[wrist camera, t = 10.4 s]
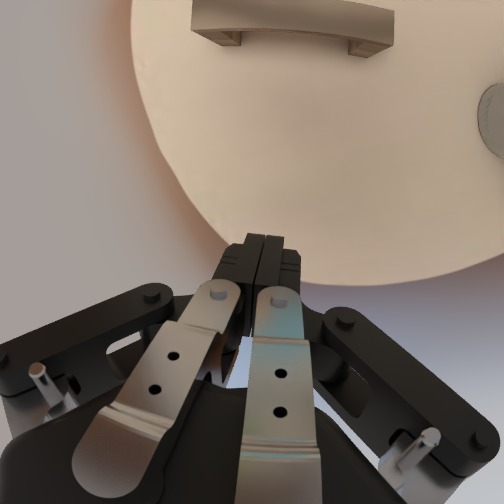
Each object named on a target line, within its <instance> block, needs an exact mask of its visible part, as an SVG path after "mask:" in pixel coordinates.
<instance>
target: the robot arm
mask: <svg viewBox="0 0 504 504" xmlns="http://www.w3.org/2000/svg"><path fill="white" fill-rule="evenodd" d="M478 122H479V129H480V132H481V135H482V138H483V140H484V142H485V144H486V145H487V147H488V148H489V149H490V150H491V151H492V152H493V153H494V154H496V155H497V156H499V157H501V158H503V159H504V84H496V85H494V86H492V87H490V88H489V89H488V90H487V91H486V92H485V93H484V95H483V96H482V99H481V101H480V105H479V110H478ZM283 245H284V237H281V236H272V235H267V236H266V240H265V235H262V234H253V233H247V236H246V238H245V241H244V244H235V243H233V244H232V245H230V246H229V247H227V248H226V249H225V251H224V253H223V256H222V258H221V260H220V263H219V264H218V266H217V269H216V271H215V273H214V275H213V277H212V280H209V281H207V282H204V283H203V284H202V285H200V287H199V288H198V290H197V291H196V293H195V294H193V295H186V296H173V291H172V289H171V288H170V287H168V286H167V285H165V284H161V283H149V284H145V285H142V286H139V287H137V288H135V289H132V290H130V291H127V292H125V293H122V294H120V295H117V296H115V297H113V298H110V299H108V300H106V301H103V302H101V303H98V304H96V305H93V306H91V307H88V308H86V309H84V310H81V311H79V312H77V313H74V314H72V315H69V316H67V317H64V318H62V319H60V320H57V321H55V322H52V323H50V324H48V325H45V326H43V327H41V328H38V329H36V330H33V331H31V332H29V333H26V334H24V335H22V336H19V337H17V338H14V339H12V340H10V341H7V342H5V343H3V344H0V396H1V398H2V401H3V405H4V409H5V413H6V417H7V420H8V424H9V427H10V431H11V434H12V437H13V440H11V442H10V443H9V444H8V445H7V446H6V447H5V449H4V451H3V453H2V455H1V458H0V504H444V503H445V502H446V501H447V500H448V498H449V497H450V496H451V495H452V494H453V493H454V491H455V490H456V489H457V488H458V487H459V485H460V484H461V483H462V482H463V481H465V480H466V479H467V478H469V477H470V476H472V475H473V474H474V473H475V472H477V471H478V470H480V469H481V468H482V467H483V466H485V465H486V464H487V463H488V462H490V461H491V460H492V459H493V458H494V457H495V456H496V455H497V453H498V451H499V448H500V437H499V433H498V431H497V430H496V428H495V427H494V426H493V425H492V423H490V422H489V421H488V420H487V419H486V418H485V417H484V416H482V415H481V414H480V413H479V412H478V411H477V410H475V409H474V408H473V407H472V406H471V405H470V404H469V403H467V402H466V401H465V400H464V399H463V398H462V397H460V396H459V395H458V394H457V393H456V392H454V391H453V390H452V389H451V388H450V387H449V386H448V385H446V384H445V383H444V382H443V381H442V380H440V379H439V378H438V377H437V376H436V375H435V374H433V373H432V372H431V371H430V370H429V369H427V368H426V367H425V366H424V365H423V364H421V363H420V362H419V361H418V360H417V359H415V358H414V357H413V356H412V355H411V354H410V353H408V352H407V351H406V350H405V349H403V348H402V347H401V346H400V345H399V344H397V343H396V342H395V341H394V340H393V339H391V338H390V337H389V336H388V335H387V334H385V333H384V332H383V331H382V330H380V329H379V328H378V327H377V326H376V325H374V324H373V323H372V322H370V321H369V320H368V319H367V318H366V317H365V316H363V315H362V314H361V313H360V312H358V311H356V310H354V309H351V308H348V307H334V308H331V309H329V310H328V311H327V312H326V313H325V314H321V313H318V312H316V311H313V310H311V309H309V308H308V307H307V306H305V305H304V304H303V302H302V301H301V298H300V274H301V256H300V255H299V254H298V252H297V251H296V250H290V249H283ZM251 328H252V334H251V337H253V342H252V353H251V362H250V371H249V380H248V388H231V389H227V388H226V386H227V383H228V380H229V378H230V375H231V372H232V369H233V367H234V364H235V361H236V359H237V356H238V352H239V345H240V343H241V339H242V336H246V337H249V336H250V332H251ZM138 331H139V332H140V336H141V339H140V340H138V341H136V342H133V343H131V344H129V345H127V346H125V347H123V348H121V349H119V350H116V351H115V352H112V353H110V354H106V351H107V348H108V347H109V346H110V345H111V344H112V343H114V342H116V341H118V340H121V339H123V338H125V337H127V336H129V335H131V334H134V333H136V332H138ZM352 368H353V369H354V370H355V371H354V370H353V369H352ZM313 388H314V389H315V390H316V391H317V392H318V393H319V394H320V396H321V397H322V398H323V399H324V400H325V401H326V402H327V403H328V404H329V405H330V406H331V408H332V409H333V410H334V411H335V412H336V413H337V414H338V415H339V416H340V417H341V418H342V419H343V421H345V423H346V424H347V425H348V426H349V427H350V428H351V429H352V430H353V431H354V432H355V433H356V434H357V436H358V437H360V439H361V440H362V441H363V442H364V443H365V444H366V445H367V446H368V447H369V448H370V449H371V450H372V451H373V452H374V453H375V454H376V455H377V456H378V457H379V458H380V460H379V463H378V471H377V469H376V468H375V467H374V466H373V465H372V464H371V463H370V462H369V460H368V459H367V458H366V457H365V456H364V455H363V454H362V453H361V451H360V450H359V449H358V448H357V447H356V446H355V444H354V443H353V442H352V441H351V440H350V439H349V438H348V436H347V435H346V434H345V433H344V432H343V430H341V428H340V427H339V426H338V425H337V424H336V422H335V421H334V420H333V419H332V418H331V417H329V416H328V415H327V414H326V413H324V412H323V411H322V410H320V409H318V408H316V407H314V396H313Z"/></svg>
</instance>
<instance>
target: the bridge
mask: <svg viewBox="0 0 504 504" xmlns="http://www.w3.org/2000/svg"><path fill="white" fill-rule="evenodd" d="M191 31H193V32H195V33H197V34H199V35H201V36H203V37H205V38H207V39H209V40H211V41H213V42H215V43H217V44H219V45H221V46H240V44H241V31H272V32H290V33H302V34H312V35H321V36H329V37H337V38H343V39H349V53H348V55H354V56H360V57H366V58H368V57H370V56H372V55H374V54H376V53H378V52H380V51H382V50H385V49H387V48H389V47H391V46H393V43H394V11H392V10H388V9H384V8H380V7H375V6H370V5H365V4H360V3H355V2H349V1H343V0H193V3H192V18H191Z"/></svg>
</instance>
